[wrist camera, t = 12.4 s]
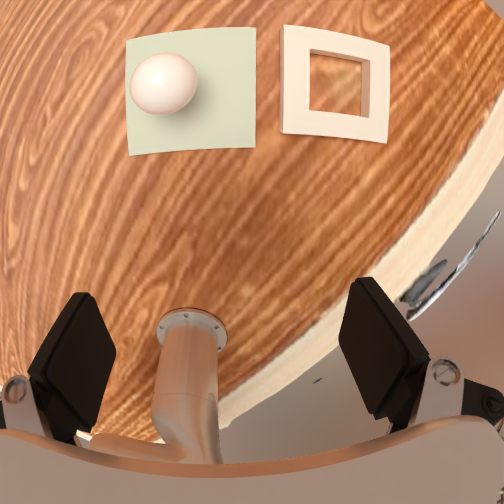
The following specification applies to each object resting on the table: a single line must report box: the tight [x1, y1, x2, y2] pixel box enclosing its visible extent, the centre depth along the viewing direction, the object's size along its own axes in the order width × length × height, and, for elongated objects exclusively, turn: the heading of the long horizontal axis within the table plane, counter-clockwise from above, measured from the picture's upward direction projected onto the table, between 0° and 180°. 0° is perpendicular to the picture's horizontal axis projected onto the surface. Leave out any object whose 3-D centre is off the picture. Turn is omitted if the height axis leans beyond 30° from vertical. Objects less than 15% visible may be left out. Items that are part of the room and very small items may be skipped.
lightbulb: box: [130, 52, 198, 115], centre depth 22 cm, size 6×6×11 cm
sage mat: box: [125, 27, 256, 156], centre depth 27 cm, size 16×16×1 cm
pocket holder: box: [279, 25, 390, 143], centre depth 27 cm, size 14×14×2 cm
